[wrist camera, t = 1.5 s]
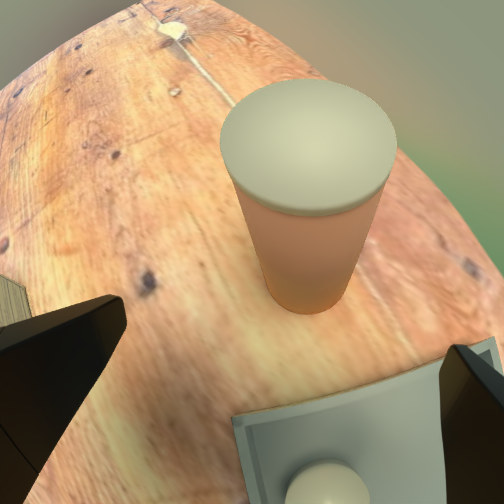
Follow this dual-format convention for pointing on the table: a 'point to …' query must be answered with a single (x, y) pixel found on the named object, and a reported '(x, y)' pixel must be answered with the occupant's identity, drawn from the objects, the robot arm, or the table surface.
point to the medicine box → (12, 302)
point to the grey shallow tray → (356, 437)
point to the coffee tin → (308, 183)
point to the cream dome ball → (326, 484)
